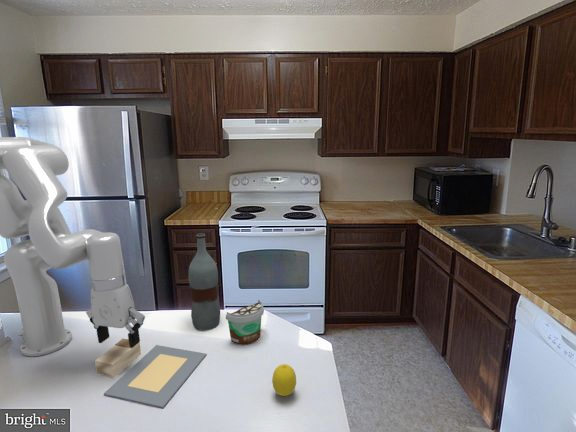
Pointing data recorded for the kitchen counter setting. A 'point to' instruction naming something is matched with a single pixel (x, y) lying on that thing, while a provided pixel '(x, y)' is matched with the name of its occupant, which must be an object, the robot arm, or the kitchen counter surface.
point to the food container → (245, 324)
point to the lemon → (284, 380)
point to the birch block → (117, 358)
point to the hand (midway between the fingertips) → (119, 342)
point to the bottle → (204, 288)
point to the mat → (156, 376)
